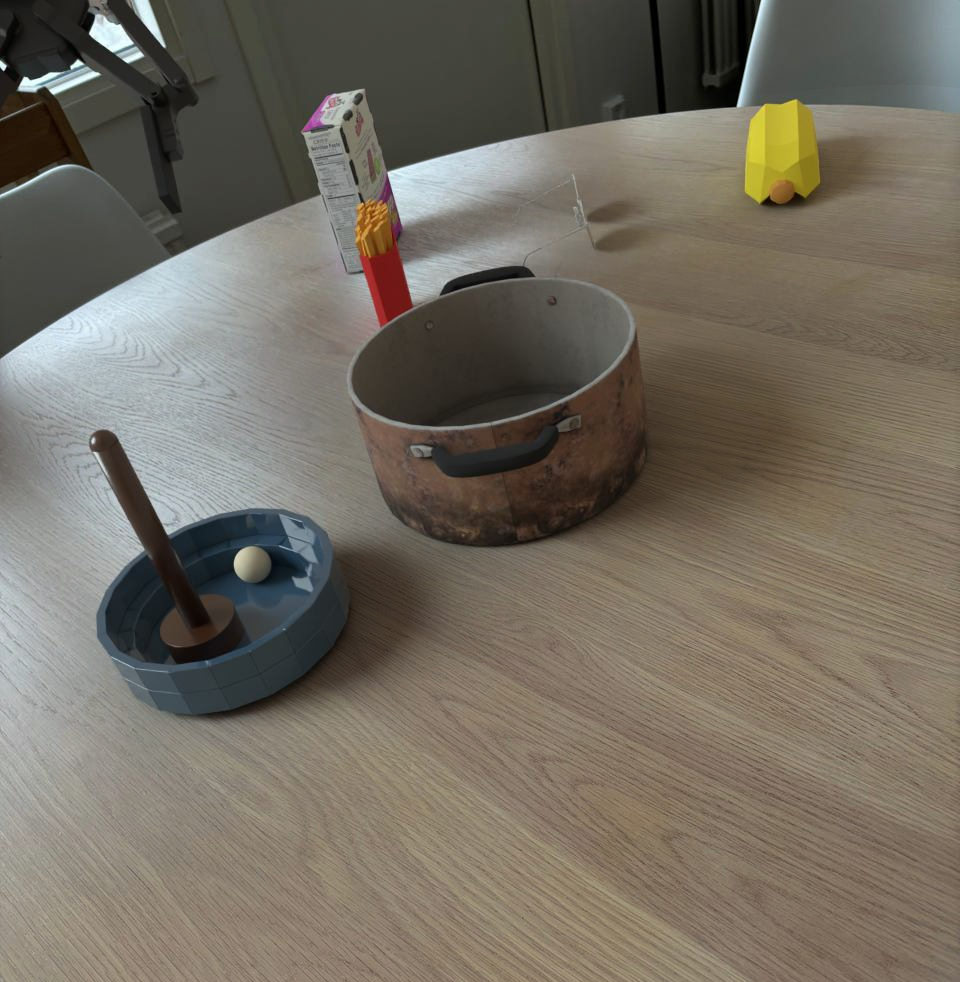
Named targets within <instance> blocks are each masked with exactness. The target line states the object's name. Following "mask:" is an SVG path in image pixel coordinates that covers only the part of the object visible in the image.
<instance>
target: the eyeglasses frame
mask: <svg viewBox="0 0 960 982" xmlns="http://www.w3.org/2000/svg"><path fill="white" fill-rule="evenodd" d="M571 182H573V183H574V187H575V193H576V201H577V204H578V205H579V207H578V206H573V208H572V209H573V212H574V214H575V216H574V217H575V221H576V223H577V224H578V226H579V228H577V229H575V230H572V231H571V232H569V233H567V234H565V235H563V236H561V237H559V238H557V239H555V240H553V241H551V242H549V243H547V244H545V245H542V246H540V247H537V248H536V249H534V250H532V251H529V253H527V255H525V257H524V259H523V261H522V263H521V266H525V264H526V261H527V258H528V257H529V256H530V255H532V254H534V253H535V252H537V251H539V250H542V249H543V248H545V247H547V246H549V245H551V244H553V243H556V242H558V241H561V240H562V239H565V238H566V237H569V236H572V235H573V234H575V233H578V232H580V231H582V230H584V229H586V231H587V233H588V236H589V238H590V242H591V245H592V247H593V250H594V249H595V250H596V249H597V247H596V243H595V240H594V238H593V235H592V232H591V229H590V226H589V223H588V221H589V218H588V216H587V212H586V209H585V206H584V203H583V201H582V198H581V195H580V192H579V188H578V184H577V180H576V177H575V174H574V173H571V179H569V180H567V181H565V182H563V183H562V184H560V185H558V186H556V187H554V188H552V189H550V190H548V191H547V192H545V193H542V194H541V195H539V196H537V197H535V198H534V199H531V200H529V201H527V202H525V203H524V204H522V205H521V206H520V207H519V208H518V210H517V213H516V215H515V218H514V222H513V225H512V227H516V225H517V222H518V218H519V213H520V211H521V210H522V209H523V208H524V207H525V206H527V205H528V204H531V203H532V202H534V201H535V200H537V199H539V198H541V197H543V196H545V195H547V194H549V193H551V192H553V191H555V190H557V189H559V188H562V187H563V186H565V185H567V184H569V183H571ZM581 213H582V214H581ZM583 221H584V222H583Z"/></svg>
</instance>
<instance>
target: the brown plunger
mask: <svg viewBox="0 0 960 982" xmlns="http://www.w3.org/2000/svg"><path fill="white" fill-rule="evenodd" d="M88 447H89V450H90V451H91V453H92V455H93V458H94V459H95V461H96V462H97V464H98V466H99V468H100V471H101V472H102V474H103V475H104V478H105V480H106V481H107V483H108V485H109V486H110V489H111V491H112V492H113V494H114V496H115V497H116V500H117V501H118V503H119V506H120V507H121V509H122V511H123V513H124V514H125V517H126V518H127V520H128V522H129V524H130V525H131V528H132V529H133V531H134V533H135V536H136V537H137V539H138V540H139V542H140V544H141V546H142V548H143V551H144V550H145V552H146V553H147V555H148V557H149V559H150V561H151V563H152V564H153V566H154V568H155V570H156V572H157V574H158V576H159V577H160V579H161V581H162V583H163V585H164V587H165V589H166V590H167V592H168V594H169V596H170V598H171V600H172V602H173V603H174V605H175V608H174V609H173V610H171V611H170V612H169V613H168V615H167V616H166V617H165V618H164V620H163V622H162V624H161V627H160V636H161V639H162V640H163V642H164V644H165V646H166V647H167V649H168V651H169V653H170V655H171V656H172V658H173V659H174V660H175V661H176V662H177V663H179V664H185V663H192V662H199V661H206V660H211V659H213V658H216V657H219V656H222V655H224V654H227V653H230V652H231V651H232V650H233V649H234V648H235V647H236V646H237V645H238V643H239V642H240V640H241V638H242V636H243V632H244V627H243V623H242V621H241V619H240V617H239V615H238V613H237V611H236V609H235V607H234V605H233V603H232V601H231V600H230V599H228V598H227V597H225V596H222V595H218V594H206V595H200V596H199V595H198V593H197V591H196V589H195V587H194V585H193V583H192V581H191V579H190V577H189V575H188V574H187V572H186V570H185V568H184V566H183V564H182V562H181V560H180V558H179V556H178V554H177V552H176V550H175V548H174V546H173V544H172V542H171V540H170V539H169V537H168V535H169V534H168V533H167V531H166V529H165V527H164V525H163V523H162V520H161V519H160V516H159V515H158V513H157V511H156V509H155V507H154V505H153V503H152V501H151V499H150V497H149V496H148V494H147V491H146V490H145V488H144V486H143V484H142V482H141V480H140V478H139V476H138V473H136V470H135V468H134V466H133V465H132V463H131V460H130V459H129V457H128V455H127V453H126V451H125V449H124V446H123V445H122V444H121V441H120V439H119V437H118V436H117V435H116V434H115V433H114V432H113V431H112V430H109V429H107V428H106V429H105V428H102V429H97V430H95V431H94V432H93V433H92V434H91V435H90V437H89V439H88Z"/></svg>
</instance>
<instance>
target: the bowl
mask: <svg viewBox="0 0 960 982" xmlns="http://www.w3.org/2000/svg"><path fill="white" fill-rule="evenodd" d="M167 535H168V537H169V539H170V540H171V542H172V544H173V546H174V548H175V550H176V552H177V554H178V556H179V558H180V560H181V562H182V564H183V566H184V568H185V570H186V572H187V574H188V575H189V577H190V579H191V581H192V583H193V585H194V587H195V589H196V591H197V593H198V595H199V596H200V595H206V594H218V595H222V596H225V597H227V598H228V599H230V600H231V601H232V603H233V605H234V607H235V609H236V611H237V613H238V615H239V617H240V619H241V621H242V623H243V627H244V632H243V636H242V638H241V640H240V642H239V643H238V645H237V646H236V647H235V648H234V649H233V650H232V651H231V652H230V653H227V654H224V655H222V656H219V657H216V658H213V659H211V660H206V661H199V662H192V663H185V664H179V663H177V662H176V661H175V660H174V659H173V658H172V656H171V655H170V653H169V651H168V649H167V647H166V646H165V644H164V642H163V640H162V639H161V636H160V627H161V624H162V622H163V620H164V618H165V617H166V616H167V615H168V613H169V612H170V611H171V610H173V609H174V608H175V605H174V603H173V602H172V600H171V598H170V596H169V594H168V592H167V590H166V589H165V587H164V585H163V583H162V581H161V579H160V577H159V576H158V574H157V572H156V570H155V568H154V566H153V564H152V563H151V561H150V559H149V557H148V555H147V553H146V552H145V550H144V549H143V551H142V552H140V553H139V554H138V555H137V556H135V557H134V558H133V559H132V560H130V561H129V562H128V563H126V565H125V566H124V567H123V568H122V570H121V571H120V572H119V573H118V574H117V575H116V576H115V578H114V579H113V581H112V582H111V583H110V584H109V585H108V587H106V589H105V592H104V594H103V596H102V599H101V601H100V603H99V607H98V609H97V611H96V614H95V619H96V620H95V621H96V639H97V640H98V642H99V643H100V645H101V646H102V648H103V650H104V651H105V653H106V655H107V656H108V658H109V659H110V661H111V663H112V664H113V666H114V668H115V669H116V671H117V673H118V674H119V675H120V677H121V678H122V681H124V683H125V685H126V686H127V687H128V689H129V691H130V692H131V693H132V695H133V696H134V698H135V699H136V700H139V701H140V702H142V703H144V704H146V705H148V706H150V707H152V708H154V709H156V710H158V711H160V712H166V713H175V714H184V715H191V716H196V715H203V714H211V713H219V712H225V711H232V710H234V709H237V708H240V707H242V706H246V705H248V704H251V703H253V702H256V701H259V700H261V699H265V698H267V697H270V696H272V695H273V694H275V693H277V692H278V691H280V690H282V689H283V688H285V687H287V686H288V685H290V684H292V683H293V682H295V681H296V680H298V679H299V678H301V677H303V676H304V675H305V674H307V672H309V671H310V669H312V667H314V666H315V665H316V664H317V662H319V661H320V660H321V659H322V658H323V657H324V656H325V655H326V654H327V653H328V652H329V651H330V650H331V649H332V647H333V646H334V644H335V643H336V640H337V639H338V638H339V635H340V634H341V633H342V631H343V629H344V627H345V625H346V623H347V621H348V615H349V608H350V602H351V593H350V590H349V588H348V585H347V582H346V578H345V577H344V574H343V571H342V569H341V566H340V563H339V560H338V558H337V555H336V552H335V550H334V548H333V545H332V543H331V540H330V537H329V534H328V532H327V531H326V530H325V529H324V528H323V527H321V526H320V525H319V524H318V523H317V522H315V521H314V519H312V518H310V517H309V516H307V515H304V514H300V513H297V512H294V511H291V510H288V509H284V508H265V507H264V508H263V507H251V508H244V509H239V510H234V511H228V512H227V511H225V512H221V513H217V514H214V515H212V516H209V517H206V518H202V519H200V520H198V521H195V522H191V523H189V524H185V525H184V526H182V527H180V528H178V529H177V530H174V531H172V532H171V533H169V534H167ZM250 546H255V547H259V548H261V549H263V550H264V551H265V552H266V553H267V554H268V555H269V557H270V559H271V570H270V573H269V575H268V576H267V577H266V578H265V579H264V580H262V581H260V582H257V583H249V582H246V581H243V580H242V579H241V578H239V576H238V575H237V574H236V572H235V569H234V560H235V557H236V555H237V554H238V552H239V551H241V550H242V549H244V548H246V547H250Z"/></svg>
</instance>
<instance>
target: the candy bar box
mask: <svg viewBox="0 0 960 982" xmlns="http://www.w3.org/2000/svg"><path fill="white" fill-rule="evenodd" d="M366 92H367V91H366V89H365V88H359V89H354V90H353V89H352V90H348V91H341V92H339V93H338V92H336V93H331V94H330V95H326V96H325V98H324V99H323V101H322V102H321V104H320V105H319V107H318V108H317V109H316V111H315V112H314V113H313V115H312V116H311V117H310V119H309V120H308V122H306V124H305V126H304V127H303V129H302V130H301V131H300V133H301V136H302V139H303V142H304V145H305V148H306V150H307V155H308V157H309V161H310V163H311V164H310V165H311V167H312V170H313V173H314V176H315V179H316V183H317V186H318V189H319V192H320V195H321V198H322V201H323V204H324V207H325V211H326V213H327V214H326V215H327V217H328V220H329V222H330V225H331V229H332V232H333V236H334V238H335V241H336V245H337V248H338V251H339V254H340V257H341V260H342V263H343V267H344V270H345V272H346V274H347V275H353V274H354V275H355V274H361V273H364V270H363V267H362V264H361V261H360V257H359V255H360V253H359V250H358V248H357V245H356V243H355V239H356V238H357V236H356V233H355V229H356V228H357V223H356V221H357V217H358V216H359V215H358V213H357V207H358V205H359V204H360V203H361V204H362V202H363V204H364V206H366V204H365V203H366V202H367V201H368V200H369V199H370V200H371V202H372V201H373V200H375V201H376V207H377V204H378V203H379V202H380V201H381V200H382V203H383V205H384V204H385V203H386V205H387V207H388V211H389V219H390V226H392V227H393V230H394V234H395V238H396V241H398V239H399V237H400V235H401V233H402V231H403V228H404V227H403V224H402V221H401V218H400V214H399V209H398V207H397V202H396V198H395V195H394V192H393V188H392V184H391V181H390V177H389V173H388V170H387V166H386V163H385V160H384V154H383V151H382V147H381V144H380V141H379V140H380V139H379V135H378V133H377V130H376V126H375V121H374V120H373V114H372V111H371V108H370V103H369V99H368V97H367V93H366Z"/></svg>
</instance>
